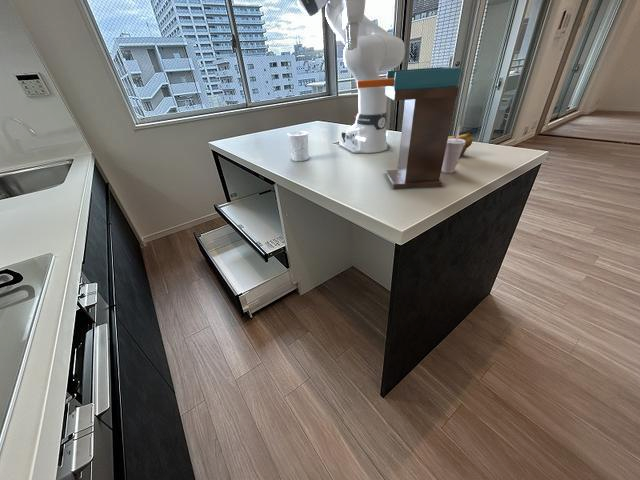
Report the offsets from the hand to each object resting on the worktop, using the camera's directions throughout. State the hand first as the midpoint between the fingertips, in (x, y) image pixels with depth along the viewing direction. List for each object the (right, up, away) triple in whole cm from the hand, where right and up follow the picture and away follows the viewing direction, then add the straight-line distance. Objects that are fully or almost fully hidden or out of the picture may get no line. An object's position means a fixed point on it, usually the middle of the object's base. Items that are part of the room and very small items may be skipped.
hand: (351, 49), depth 68 cm
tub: (+17, -10, 0) cm, 20 cm away
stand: (+19, -31, +14) cm, 39 cm away
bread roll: (+41, -18, +32) cm, 54 cm away
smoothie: (+34, -27, +19) cm, 47 cm away
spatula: (+11, -10, 0) cm, 15 cm away
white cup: (-16, -16, +40) cm, 46 cm away
